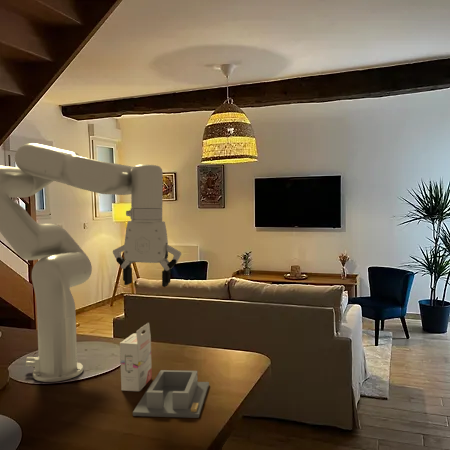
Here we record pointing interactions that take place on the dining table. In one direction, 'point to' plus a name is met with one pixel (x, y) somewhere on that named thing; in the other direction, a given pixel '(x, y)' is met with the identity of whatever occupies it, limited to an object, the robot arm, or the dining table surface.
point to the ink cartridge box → (136, 360)
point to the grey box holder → (173, 395)
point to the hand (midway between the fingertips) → (146, 284)
